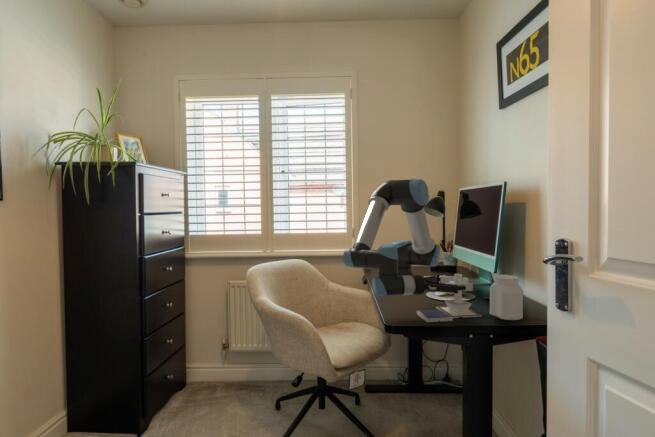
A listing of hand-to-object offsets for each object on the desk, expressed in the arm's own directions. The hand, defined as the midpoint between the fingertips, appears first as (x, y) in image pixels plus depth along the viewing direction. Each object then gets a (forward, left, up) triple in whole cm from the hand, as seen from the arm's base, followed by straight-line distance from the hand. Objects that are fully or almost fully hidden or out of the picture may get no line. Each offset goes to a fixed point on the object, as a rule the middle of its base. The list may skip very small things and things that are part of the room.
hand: (463, 282), depth 142 cm
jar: (+7, +14, -12) cm, 19 cm away
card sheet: (0, -2, -12) cm, 12 cm away
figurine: (0, -2, -11) cm, 12 cm away
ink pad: (+5, -14, -12) cm, 19 cm away
